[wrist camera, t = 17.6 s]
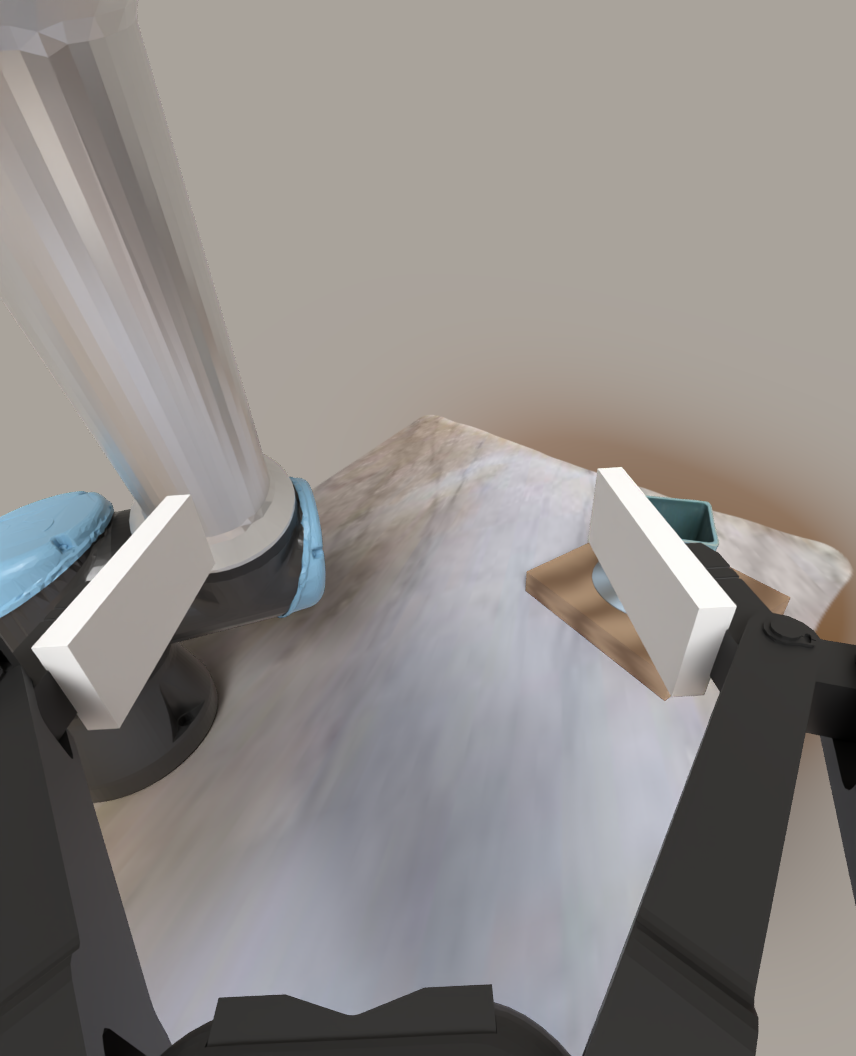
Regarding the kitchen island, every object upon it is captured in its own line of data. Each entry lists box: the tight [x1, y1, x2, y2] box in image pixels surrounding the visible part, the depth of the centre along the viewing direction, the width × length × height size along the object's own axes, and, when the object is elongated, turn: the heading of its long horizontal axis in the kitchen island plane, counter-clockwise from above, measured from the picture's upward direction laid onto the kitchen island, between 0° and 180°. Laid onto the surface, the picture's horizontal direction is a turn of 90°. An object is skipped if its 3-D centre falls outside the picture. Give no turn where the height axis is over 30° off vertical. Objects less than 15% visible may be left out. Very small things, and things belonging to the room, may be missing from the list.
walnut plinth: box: [526, 543, 790, 701], centre depth 57 cm, size 20×20×3 cm
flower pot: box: [645, 495, 719, 551], centre depth 54 cm, size 9×9×9 cm
